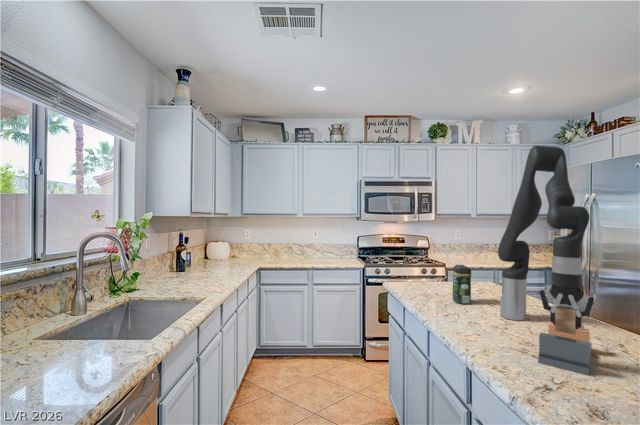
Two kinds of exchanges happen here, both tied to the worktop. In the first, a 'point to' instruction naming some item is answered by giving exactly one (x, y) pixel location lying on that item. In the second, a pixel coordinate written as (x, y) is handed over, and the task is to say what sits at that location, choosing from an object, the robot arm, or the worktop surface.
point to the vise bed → (564, 353)
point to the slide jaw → (580, 334)
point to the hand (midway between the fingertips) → (565, 326)
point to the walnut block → (565, 319)
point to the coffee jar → (461, 284)
